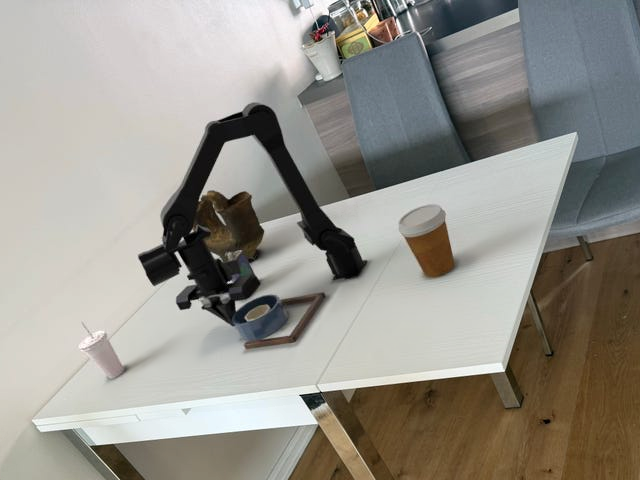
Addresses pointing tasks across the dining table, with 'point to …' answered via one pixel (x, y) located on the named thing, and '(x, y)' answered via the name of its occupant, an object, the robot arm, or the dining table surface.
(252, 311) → the small bowl
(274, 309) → the blue-grey round ring piece
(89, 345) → the smoothie
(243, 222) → the pottery vessel
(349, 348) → the dining table surface
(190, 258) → the robot arm
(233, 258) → the flask
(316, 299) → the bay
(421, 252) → the disposable coffee cup
